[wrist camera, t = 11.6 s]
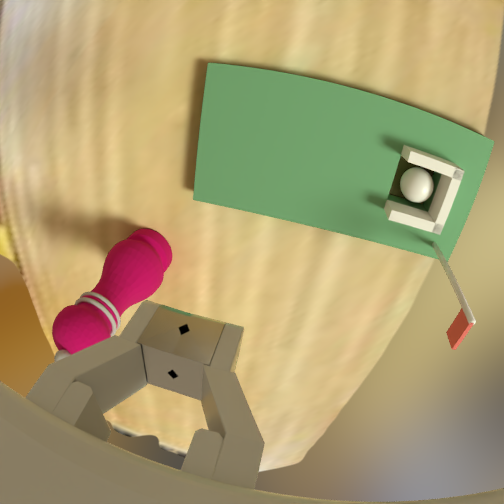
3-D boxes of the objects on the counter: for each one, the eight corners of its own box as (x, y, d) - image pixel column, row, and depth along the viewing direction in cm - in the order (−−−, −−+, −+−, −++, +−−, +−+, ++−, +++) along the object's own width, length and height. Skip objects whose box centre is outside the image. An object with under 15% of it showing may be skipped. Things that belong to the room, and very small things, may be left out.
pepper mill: (134, 214, 38) (25, 321, 21) (184, 243, 38) (96, 371, 21) (121, 255, 41) (30, 361, 25) (165, 282, 42) (90, 402, 25)
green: (214, 63, 27) (141, 59, 15) (485, 137, 25) (566, 184, 13) (198, 205, 35) (138, 278, 24) (437, 263, 33) (475, 352, 21)
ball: (439, 174, 27) (410, 160, 29) (436, 177, 25) (403, 162, 26) (428, 205, 29) (399, 191, 30) (423, 211, 26) (391, 196, 28)
